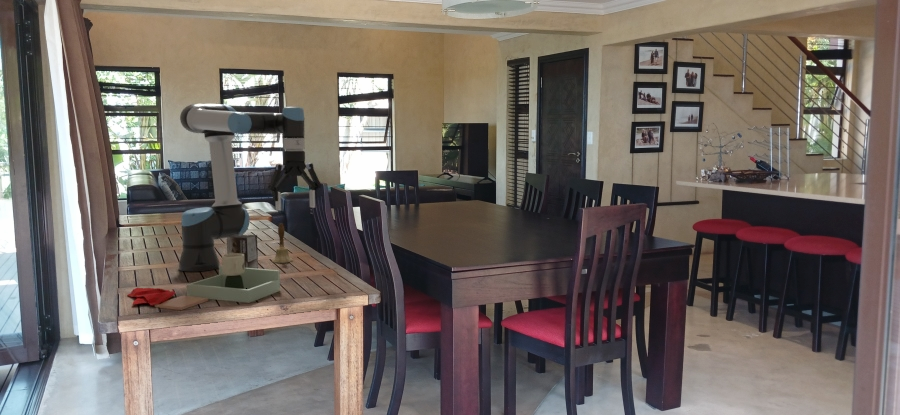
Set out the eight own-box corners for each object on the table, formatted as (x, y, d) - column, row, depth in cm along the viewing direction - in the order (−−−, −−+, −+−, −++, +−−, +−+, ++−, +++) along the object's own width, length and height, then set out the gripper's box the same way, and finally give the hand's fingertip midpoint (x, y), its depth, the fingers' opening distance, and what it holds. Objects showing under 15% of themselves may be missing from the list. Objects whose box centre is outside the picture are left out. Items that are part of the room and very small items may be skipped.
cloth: (180, 301, 208) (180, 294, 208) (131, 308, 202) (131, 300, 202) (170, 287, 231) (169, 280, 231) (125, 292, 224) (125, 285, 224)
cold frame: (187, 296, 219) (186, 275, 218) (221, 285, 235) (220, 265, 234) (248, 302, 211) (248, 280, 210) (280, 290, 227) (279, 270, 226)
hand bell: (267, 262, 277) (266, 224, 275) (280, 258, 284) (279, 221, 282) (284, 263, 274) (283, 225, 272) (296, 260, 281) (295, 222, 279)
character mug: (249, 295, 220) (248, 256, 219) (227, 298, 216) (226, 258, 215) (240, 289, 229) (239, 251, 228) (219, 291, 226) (217, 253, 224)
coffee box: (259, 278, 246) (258, 234, 245) (248, 282, 240) (247, 237, 238) (238, 276, 249) (236, 233, 247) (227, 280, 243) (225, 236, 241)
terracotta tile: (154, 307, 206) (154, 304, 206) (182, 297, 217) (182, 295, 217) (181, 309, 202) (181, 307, 202) (208, 300, 214) (208, 298, 214)
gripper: (266, 151, 231) (268, 212, 234) (329, 149, 247) (331, 207, 250) (257, 150, 237) (258, 210, 240) (319, 149, 253) (321, 205, 256)
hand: (295, 208), depth 245 cm, fingers open, 13 cm apart
